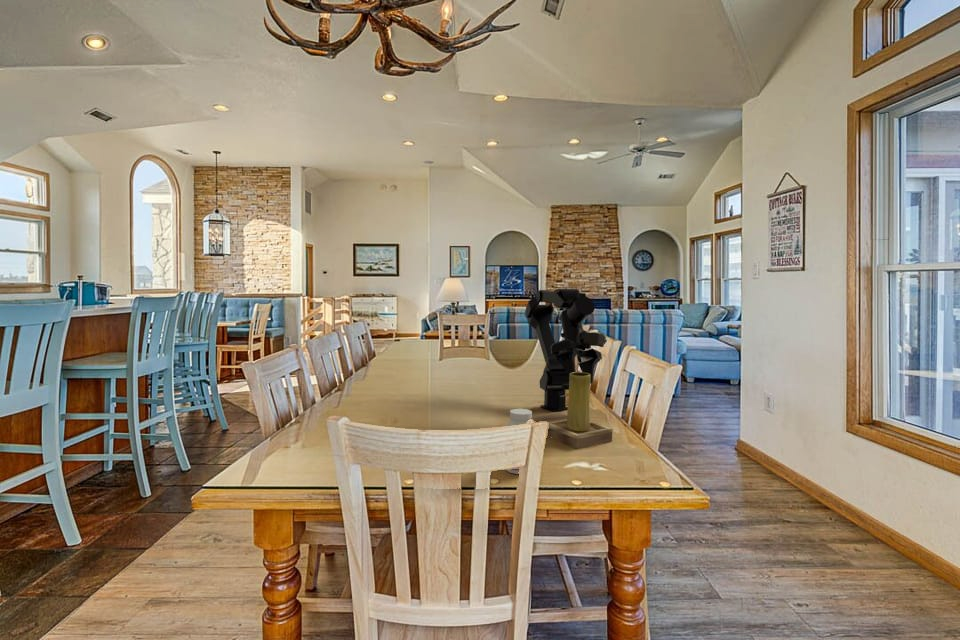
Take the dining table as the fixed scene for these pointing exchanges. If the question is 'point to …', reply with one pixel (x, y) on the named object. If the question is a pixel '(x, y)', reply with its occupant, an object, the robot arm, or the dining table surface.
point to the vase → (579, 402)
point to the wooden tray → (573, 438)
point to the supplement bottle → (518, 418)
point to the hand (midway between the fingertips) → (582, 381)
